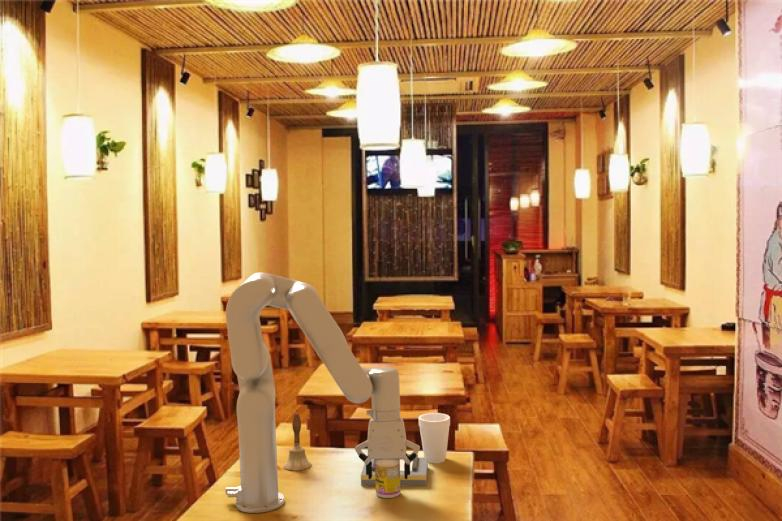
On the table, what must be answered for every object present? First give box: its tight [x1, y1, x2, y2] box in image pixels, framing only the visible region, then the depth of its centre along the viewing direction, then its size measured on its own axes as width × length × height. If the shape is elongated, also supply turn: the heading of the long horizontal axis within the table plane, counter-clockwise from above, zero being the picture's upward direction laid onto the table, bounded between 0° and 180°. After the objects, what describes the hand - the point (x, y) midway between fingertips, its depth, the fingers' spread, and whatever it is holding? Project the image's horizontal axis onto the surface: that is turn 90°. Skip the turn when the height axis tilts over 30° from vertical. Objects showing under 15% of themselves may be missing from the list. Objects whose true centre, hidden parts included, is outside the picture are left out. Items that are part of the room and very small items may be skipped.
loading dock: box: [360, 457, 429, 487], centre depth 206 cm, size 18×14×3 cm
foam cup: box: [417, 412, 451, 464], centre depth 219 cm, size 10×9×13 cm
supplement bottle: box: [375, 459, 401, 499], centre depth 193 cm, size 7×7×13 cm
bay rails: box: [372, 453, 419, 471], centre depth 208 cm, size 12×11×1 cm
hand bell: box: [283, 412, 312, 472], centre depth 216 cm, size 8×8×16 cm
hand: (388, 477), depth 193 cm, fingers open, 9 cm apart
